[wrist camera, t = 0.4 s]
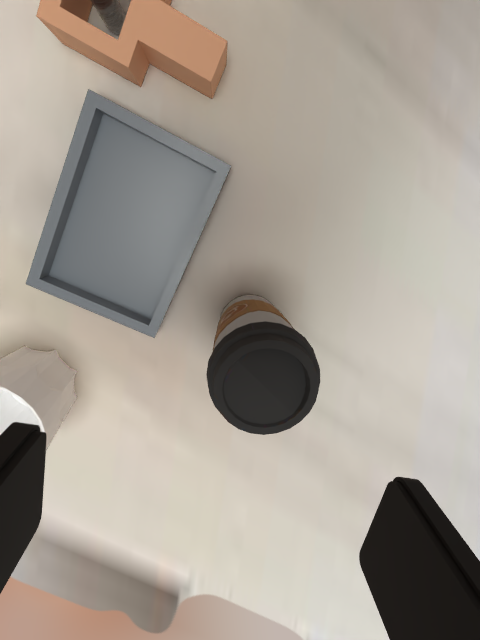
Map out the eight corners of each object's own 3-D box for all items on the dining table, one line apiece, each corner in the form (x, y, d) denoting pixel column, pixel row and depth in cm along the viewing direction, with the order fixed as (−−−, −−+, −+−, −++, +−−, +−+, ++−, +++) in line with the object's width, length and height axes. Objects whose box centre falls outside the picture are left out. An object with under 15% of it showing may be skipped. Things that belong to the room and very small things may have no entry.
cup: (106, 387, 40) (70, 442, 30) (41, 433, 41) (-11, 501, 32) (40, 320, 37) (-22, 358, 27) (-27, 373, 38) (-107, 426, 29)
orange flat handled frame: (90, -49, 28) (66, -96, 24) (236, 40, 30) (238, 12, 26) (62, 43, 30) (36, 15, 25) (202, 121, 32) (200, 107, 28)
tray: (98, 98, 31) (88, 89, 29) (230, 168, 33) (231, 165, 31) (38, 278, 35) (25, 283, 33) (158, 329, 38) (154, 338, 35)
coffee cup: (251, 268, 36) (271, 306, 22) (302, 322, 39) (350, 389, 24) (194, 320, 38) (179, 389, 24) (246, 370, 40) (261, 460, 26)
